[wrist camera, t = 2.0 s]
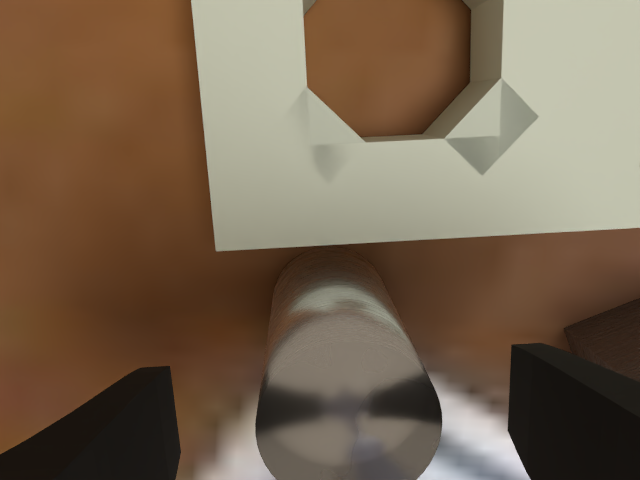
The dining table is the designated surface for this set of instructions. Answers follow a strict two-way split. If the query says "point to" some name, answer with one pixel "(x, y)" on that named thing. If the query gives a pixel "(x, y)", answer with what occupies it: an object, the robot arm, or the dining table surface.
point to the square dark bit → (610, 339)
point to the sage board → (435, 143)
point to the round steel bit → (342, 378)
